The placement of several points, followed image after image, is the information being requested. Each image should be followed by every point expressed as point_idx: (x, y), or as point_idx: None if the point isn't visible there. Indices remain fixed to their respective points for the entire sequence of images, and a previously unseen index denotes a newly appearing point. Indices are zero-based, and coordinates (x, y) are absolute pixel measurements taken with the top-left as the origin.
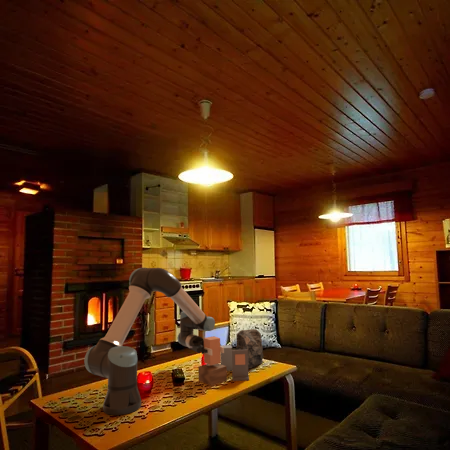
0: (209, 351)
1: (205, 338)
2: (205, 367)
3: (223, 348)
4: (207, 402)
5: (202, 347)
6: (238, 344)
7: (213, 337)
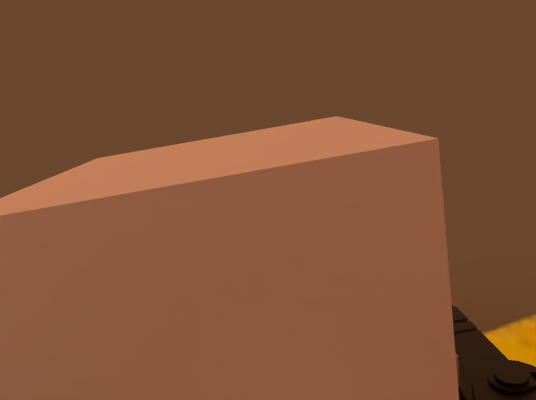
0: None
1: (390, 129)
2: None
3: None
4: None
5: (519, 370)
6: None
7: (128, 169)
